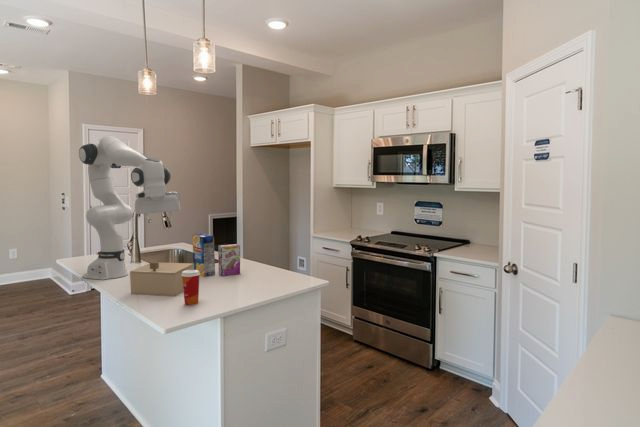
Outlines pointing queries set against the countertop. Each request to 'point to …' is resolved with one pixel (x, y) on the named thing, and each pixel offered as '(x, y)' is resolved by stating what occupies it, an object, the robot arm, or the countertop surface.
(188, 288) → the paper cup
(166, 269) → the lid flap
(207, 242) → the beverage box
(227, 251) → the candy bar box
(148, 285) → the carton
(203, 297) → the countertop surface
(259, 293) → the countertop surface
